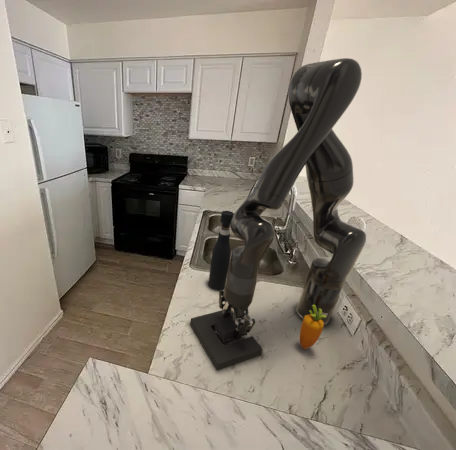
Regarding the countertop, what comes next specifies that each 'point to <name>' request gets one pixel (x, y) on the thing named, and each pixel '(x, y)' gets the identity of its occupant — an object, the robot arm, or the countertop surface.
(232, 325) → the connector pad
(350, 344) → the countertop surface
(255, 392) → the countertop surface
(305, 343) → the carrot
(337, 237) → the robot arm
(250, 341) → the base mat
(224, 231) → the wine bottle
